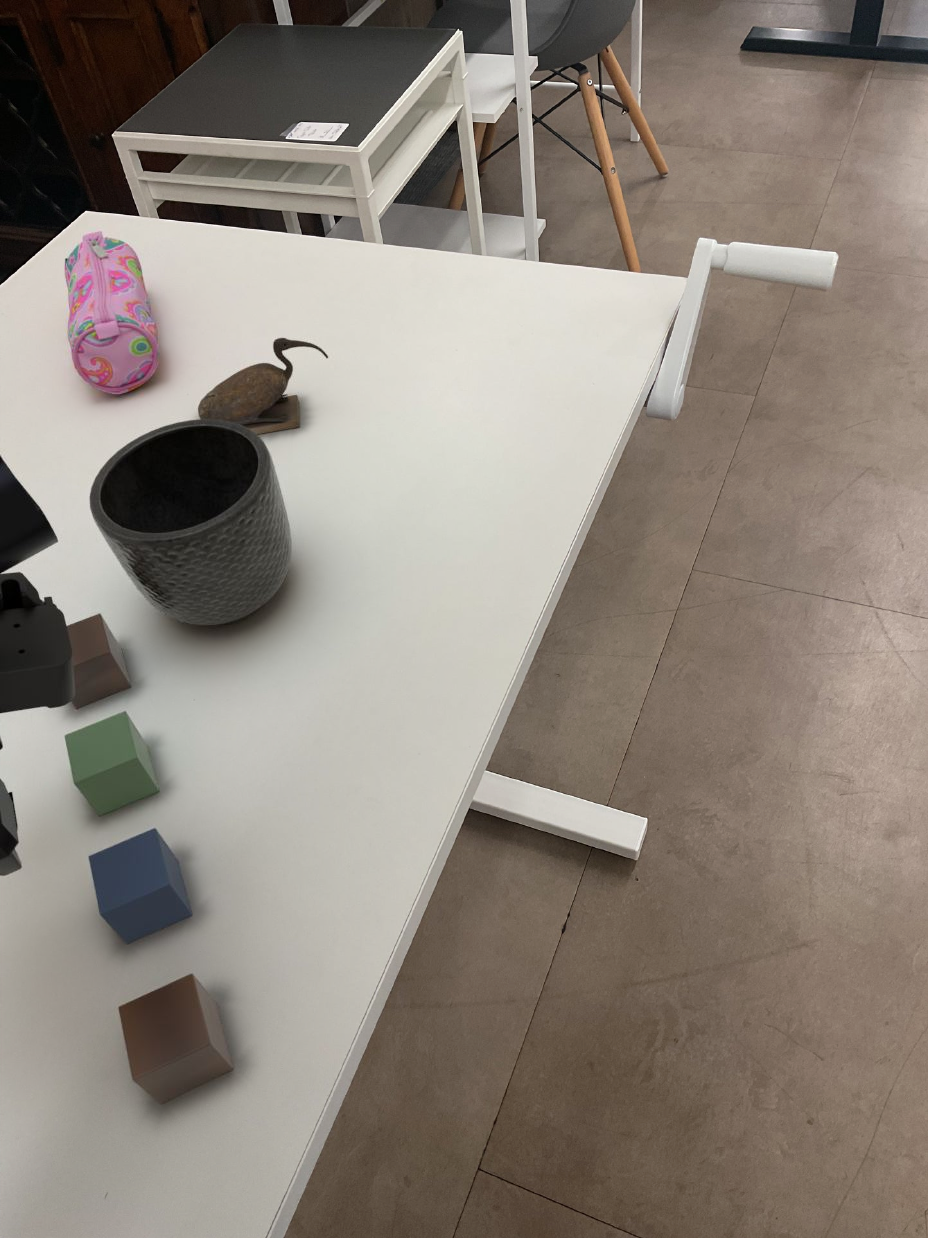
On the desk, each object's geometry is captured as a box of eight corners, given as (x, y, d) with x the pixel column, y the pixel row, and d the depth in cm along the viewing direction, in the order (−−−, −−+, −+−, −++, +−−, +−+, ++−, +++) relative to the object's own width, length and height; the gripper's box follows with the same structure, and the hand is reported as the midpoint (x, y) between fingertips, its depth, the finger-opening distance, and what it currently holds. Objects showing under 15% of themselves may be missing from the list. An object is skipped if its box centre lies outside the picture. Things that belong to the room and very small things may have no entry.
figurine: (340, 393, 102) (321, 318, 96) (342, 420, 99) (322, 345, 93) (204, 417, 102) (175, 343, 96) (202, 444, 99) (172, 371, 93)
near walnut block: (160, 1104, 59) (132, 1081, 55) (145, 1033, 61) (117, 1006, 58) (234, 1069, 59) (210, 1044, 56) (215, 1000, 62) (192, 972, 59)
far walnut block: (76, 709, 79) (51, 674, 76) (67, 669, 82) (43, 634, 78) (131, 687, 80) (110, 651, 76) (121, 648, 83) (100, 612, 79)
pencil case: (80, 308, 119) (47, 236, 113) (155, 288, 120) (127, 216, 114) (88, 410, 105) (51, 335, 99) (173, 386, 106) (143, 311, 100)
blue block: (126, 945, 65) (99, 915, 62) (114, 887, 68) (87, 856, 65) (193, 915, 66) (170, 884, 63) (178, 860, 69) (155, 827, 66)
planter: (343, 564, 86) (307, 446, 76) (235, 679, 79) (181, 566, 69) (224, 514, 92) (177, 399, 82) (114, 617, 85) (49, 504, 75)
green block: (99, 816, 72) (73, 783, 69) (88, 769, 75) (63, 735, 72) (159, 791, 73) (137, 757, 70) (147, 745, 76) (125, 710, 72)
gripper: (49, 712, 44) (168, 878, 56) (1, 472, 56) (107, 649, 68) (-215, 818, 42) (-34, 967, 54) (-207, 544, 54) (-61, 715, 65)
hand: (3, 807), depth 60 cm, fingers open, 9 cm apart
